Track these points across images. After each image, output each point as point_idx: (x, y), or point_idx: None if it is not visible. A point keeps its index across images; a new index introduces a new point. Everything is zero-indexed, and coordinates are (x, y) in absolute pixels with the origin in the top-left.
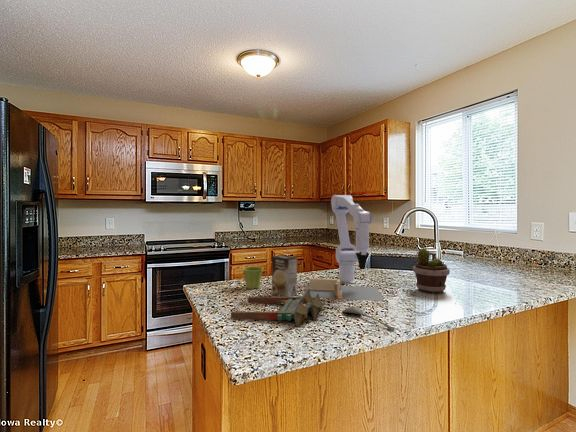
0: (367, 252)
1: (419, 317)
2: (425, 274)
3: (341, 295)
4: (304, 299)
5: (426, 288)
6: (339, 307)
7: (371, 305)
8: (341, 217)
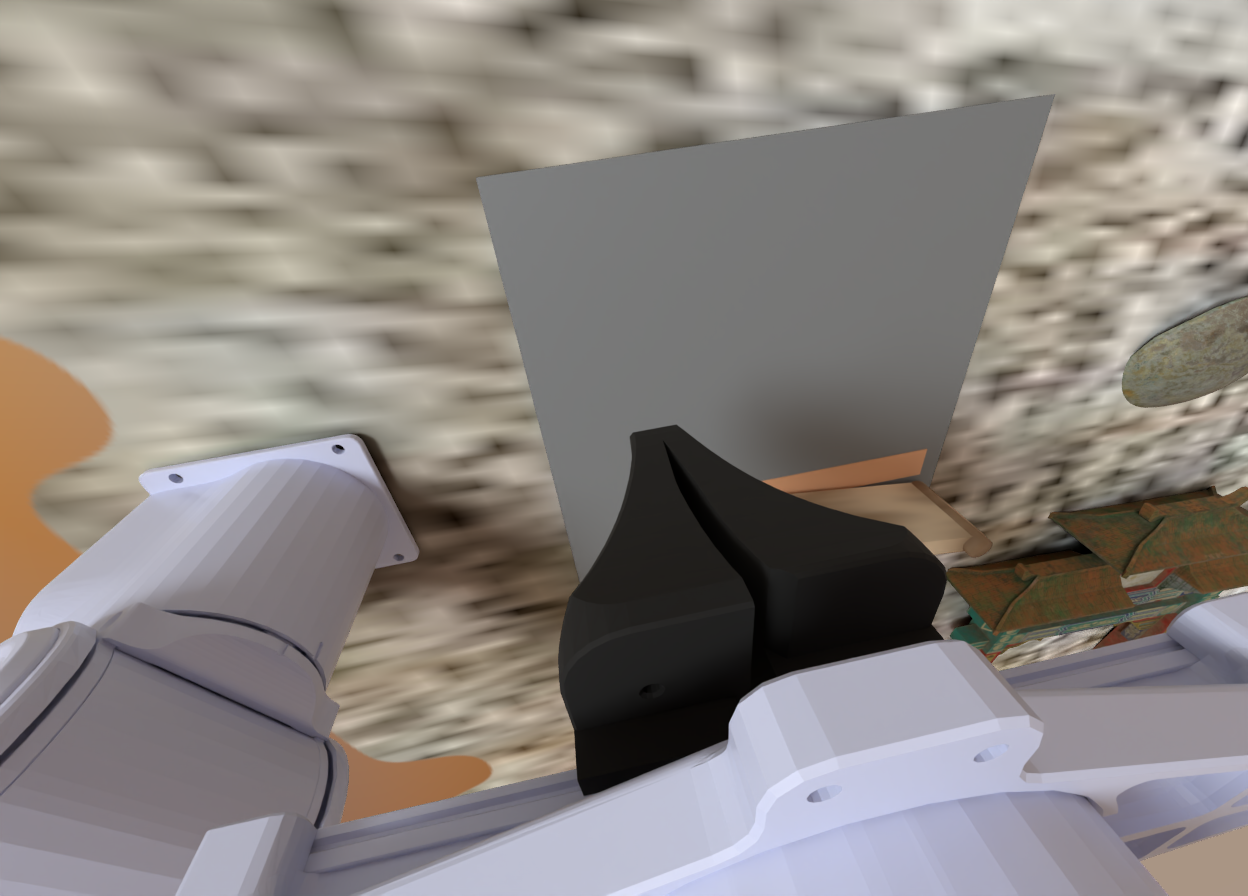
0: (590, 654)
1: None
2: None
3: (859, 465)
4: (1124, 596)
5: None
6: (1062, 432)
7: (1083, 231)
8: None
